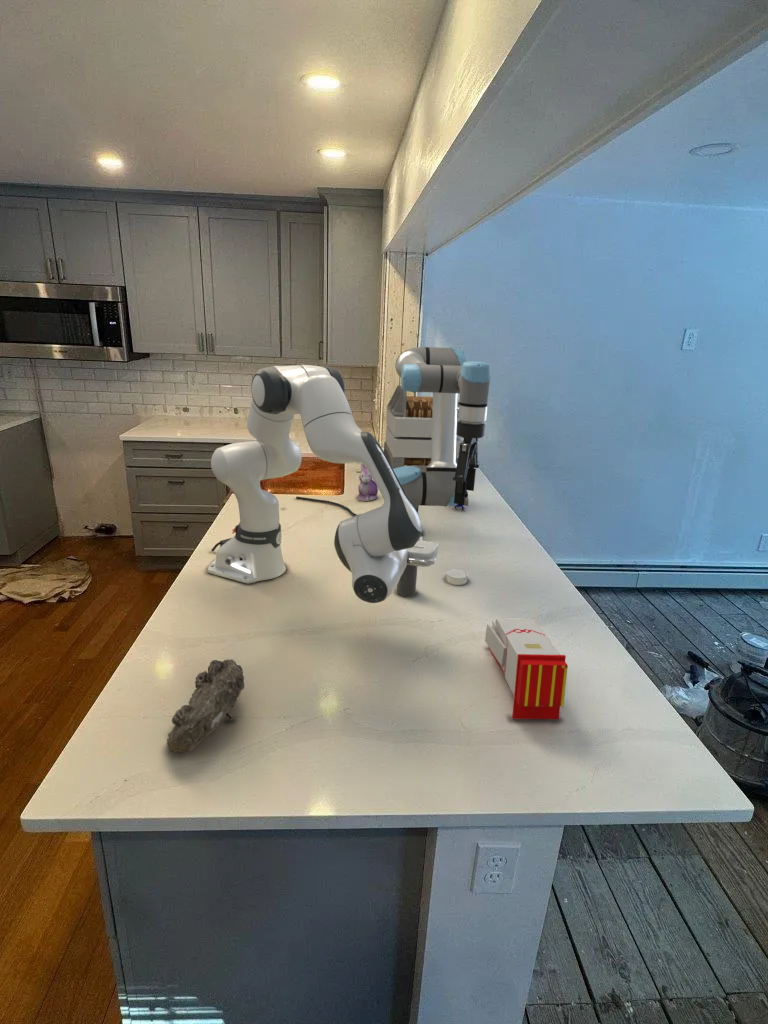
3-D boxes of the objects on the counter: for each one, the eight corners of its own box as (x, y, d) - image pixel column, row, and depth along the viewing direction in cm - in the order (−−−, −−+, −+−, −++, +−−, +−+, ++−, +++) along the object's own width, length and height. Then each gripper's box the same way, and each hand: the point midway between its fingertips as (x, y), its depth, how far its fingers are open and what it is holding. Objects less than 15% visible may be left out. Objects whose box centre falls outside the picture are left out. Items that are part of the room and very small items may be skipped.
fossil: (192, 660, 117) (244, 628, 112) (224, 691, 120) (276, 661, 115) (142, 746, 98) (202, 712, 93) (182, 779, 101) (242, 748, 96)
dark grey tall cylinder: (395, 595, 157) (398, 544, 152) (398, 586, 162) (400, 537, 157) (414, 597, 156) (417, 546, 151) (416, 588, 161) (420, 539, 156)
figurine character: (468, 514, 225) (463, 498, 239) (470, 497, 222) (465, 482, 235) (451, 514, 225) (447, 498, 238) (453, 497, 222) (449, 481, 235)
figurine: (362, 503, 229) (363, 467, 224) (351, 495, 238) (352, 460, 232) (383, 500, 233) (384, 465, 228) (372, 493, 242) (373, 459, 237)
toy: (531, 603, 136) (576, 661, 106) (526, 655, 139) (569, 725, 109) (481, 602, 135) (512, 660, 106) (477, 654, 138) (507, 724, 109)
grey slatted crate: (382, 463, 289) (386, 382, 275) (445, 464, 293) (451, 384, 279) (390, 482, 257) (394, 392, 243) (460, 483, 261) (468, 394, 247)
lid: (466, 576, 170) (466, 569, 170) (467, 585, 164) (468, 578, 164) (445, 574, 171) (446, 568, 170) (446, 584, 165) (447, 577, 164)
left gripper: (434, 552, 125) (443, 530, 137) (345, 540, 129) (362, 520, 142) (432, 578, 127) (441, 554, 139) (345, 565, 131) (361, 543, 144)
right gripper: (466, 413, 164) (460, 483, 171) (446, 428, 142) (440, 508, 149) (492, 415, 162) (485, 486, 169) (476, 431, 140) (468, 512, 147)
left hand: (400, 536), depth 141 cm, fingers open, 8 cm apart
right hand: (464, 496), depth 159 cm, fingers open, 13 cm apart
